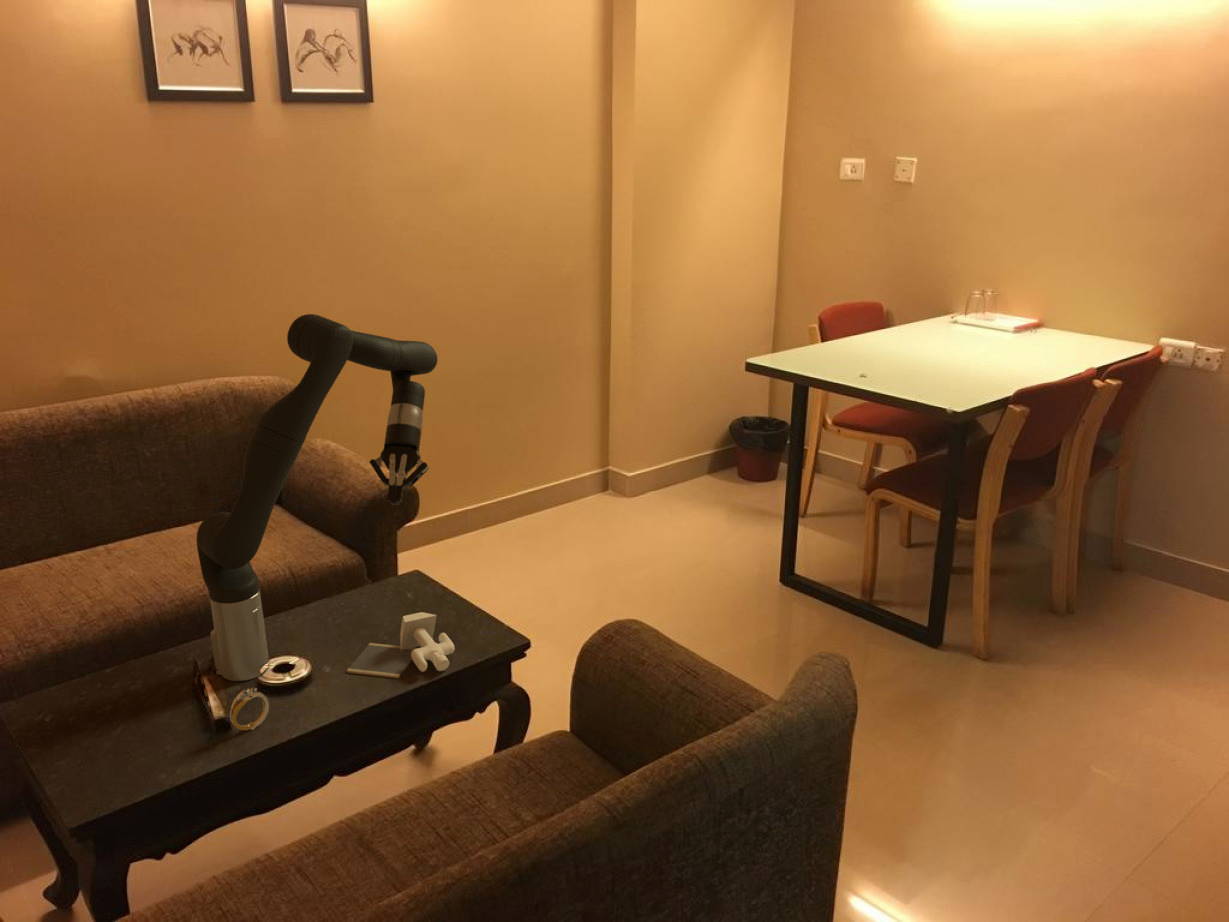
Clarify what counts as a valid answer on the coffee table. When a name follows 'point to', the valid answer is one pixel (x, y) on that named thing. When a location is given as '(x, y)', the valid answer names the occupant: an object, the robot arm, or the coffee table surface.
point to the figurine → (425, 641)
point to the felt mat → (382, 660)
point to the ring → (246, 696)
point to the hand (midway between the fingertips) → (394, 503)
